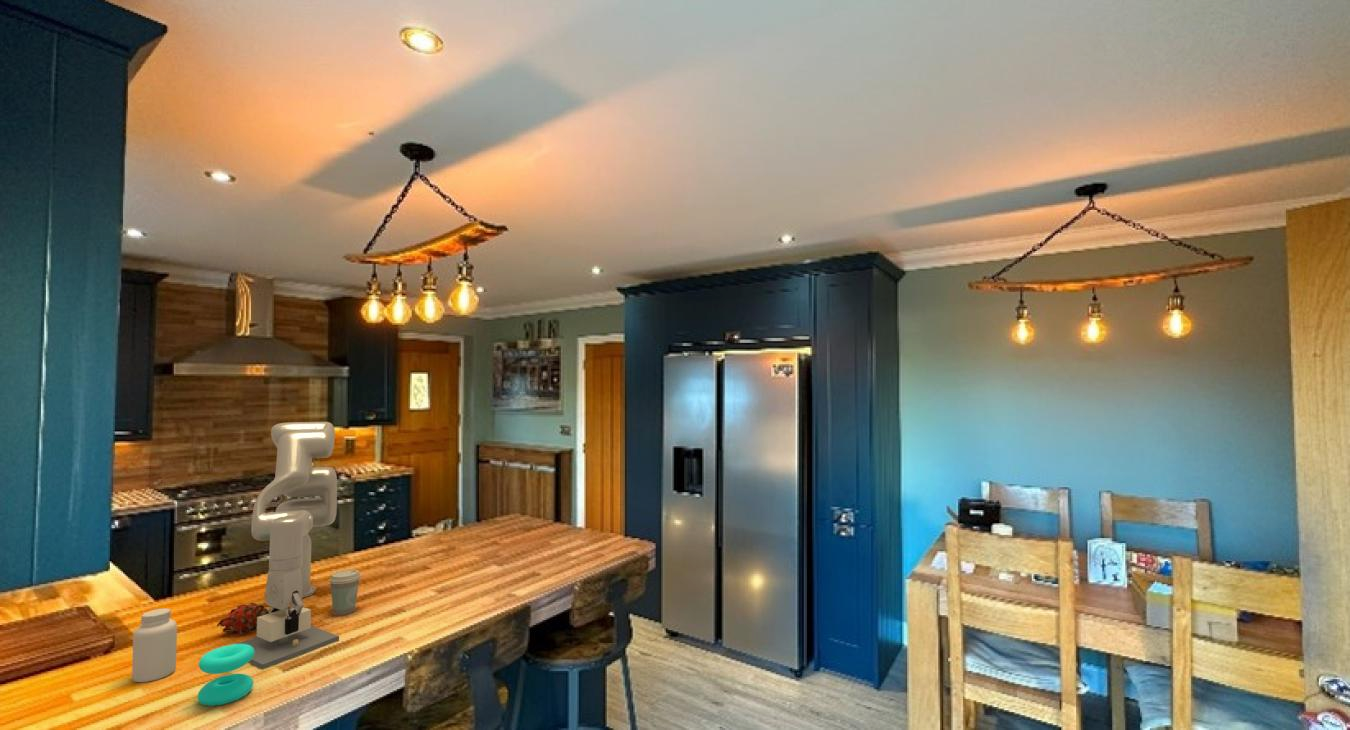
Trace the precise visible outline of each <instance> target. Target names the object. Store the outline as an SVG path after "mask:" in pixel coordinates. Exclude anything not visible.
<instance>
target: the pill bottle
mask: <svg viewBox="0 0 1350 730" xmlns="http://www.w3.org/2000/svg"><path fill="white" fill-rule="evenodd" d="M171 611H172V610H171V609H170V608H156V609H151V610H149V611H146V612H144V613H142V614H141V619H140V620H141V621H140V624H141V625H139V626H138V627H137V628H136V629H135V630H134V632H133V634H132V663H131V665H132V668H131V669H132V670H131V671H132V673H131V678H132V681H133V682H136V683H145V682H146V683H147V682H152V681H156V680H159V679H162V678H165V677H167V676H169V675H171V674H172V673H174V672H175V670H176V668H177V647H178V646H177V645H178V643H177V642H178V641H177V639H178V637H177V636H178V624H177V622H176V621H175V620H174V619H171V615H172V614H171V613H172V612H171Z"/></svg>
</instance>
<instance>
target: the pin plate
mask: <svg viewBox="0 0 1350 730" xmlns="http://www.w3.org/2000/svg"><path fill="white" fill-rule="evenodd" d="M338 641H340V635H338V634H335V633H332V632H330V631H327V630H323V629H322V628H319V627H316V626H313V625H311V626H310V629H307V630H304V631H301V632H298V633H295V634H292V635H290V636H287V637H284V638H281V639H278V640H275V641H272V642H269V641H267V640H264V639H262V638H260V637H257V636H254V637H252V638H248V639H245V640H243V641H240V642H236V643H235V644H247V645H250V646H252V647H253V648H254V656H253V658H252V659H251V660H250V661H249V662H248V663H247V664H250V665H252V666H255V667H256V668H259V669H261V670H265V669H267V668H270V667H273V666H275V665H278V664H280V663H283V662H286V661H288V660H291V659H293V658H296V657H298V656H302V655H304V654H307V653H309V652H312V651H315V650H317V649H320V648H322V647H325V646H328V645H331V644H333V643H335V642H338Z"/></svg>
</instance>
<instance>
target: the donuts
mask: <svg viewBox="0 0 1350 730" xmlns="http://www.w3.org/2000/svg"><path fill="white" fill-rule="evenodd" d="M253 656H254V648H253V647H252V646H250V645H247V644H236V643H233V644H229V645H223V646H221V647H217V648H215V649H212V650H209V651H208V652H206V653H205V654H204V655H203V656H201V657H200V660H198V668H199V670H200V671H202V672H203V673H205V674H209V675H218V674H219V675H220V674H225V673H230V672H234V671H236V670H238V669H241V668H243V667H244V666H246V665H247V664H249V663H248V662H249V661H250V660H251V659H252V658H253ZM253 687H254V679H253V678H252V677H251V676H250V675H248V674H245V673H230V674H226V675H222V676H218V677H216V678H213V679H212V680H211V681H208V682H207V683H206V684H204V685H203V686H202V687H201V688H200V690H199V691H198V693H197V701H198V702H199V704H201V705H204V706H208V707H209V706H211V707H212V706H213V707H215V706H220V705H226V704H229V703H233V702H235V701H237V700H240V699H242V698H243V697H245V696H246V695H247V694H248V693H250V692H251V691H252V689H253Z"/></svg>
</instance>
